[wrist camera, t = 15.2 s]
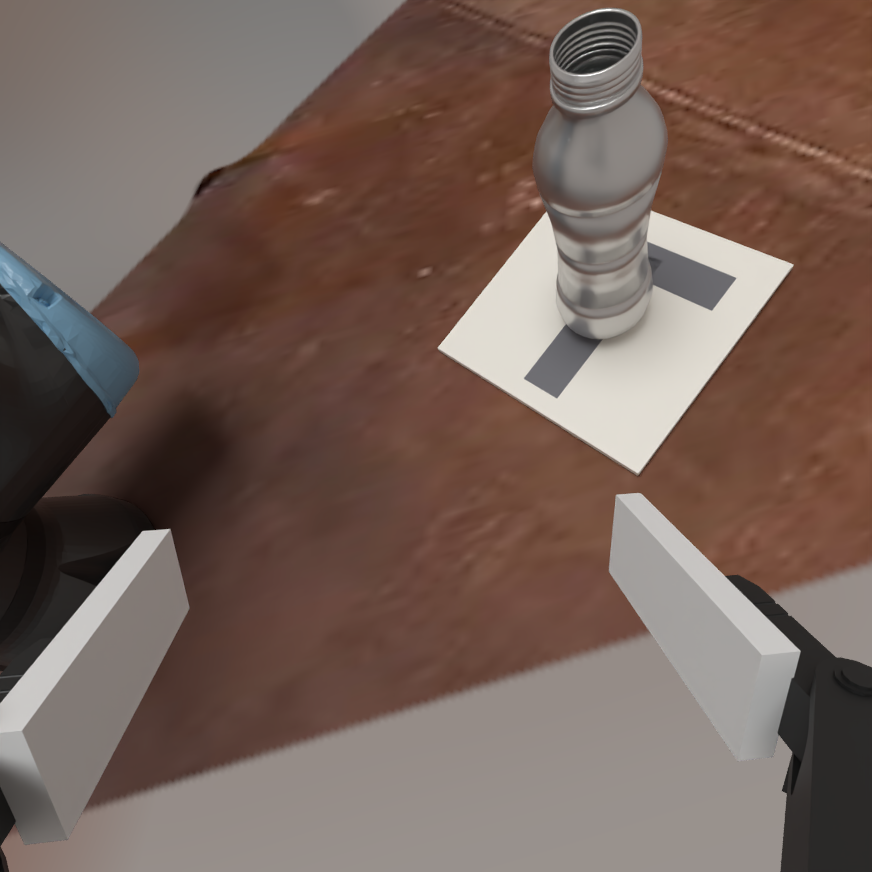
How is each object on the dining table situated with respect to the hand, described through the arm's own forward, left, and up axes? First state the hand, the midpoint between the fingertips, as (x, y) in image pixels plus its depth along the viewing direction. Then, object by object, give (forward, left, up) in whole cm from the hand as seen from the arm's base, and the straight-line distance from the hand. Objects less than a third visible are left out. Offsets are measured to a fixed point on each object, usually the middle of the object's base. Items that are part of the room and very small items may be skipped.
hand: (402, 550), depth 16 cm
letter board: (-7, +20, -21) cm, 30 cm away
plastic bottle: (-7, +20, -21) cm, 30 cm away
